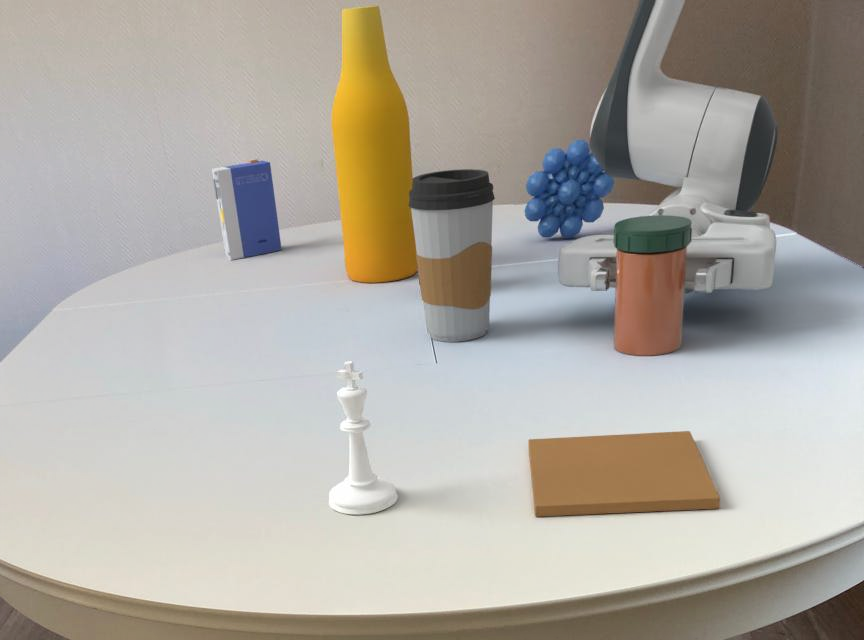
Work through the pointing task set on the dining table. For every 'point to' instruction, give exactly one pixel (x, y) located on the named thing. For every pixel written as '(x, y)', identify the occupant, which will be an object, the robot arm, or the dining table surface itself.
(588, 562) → the dining table surface
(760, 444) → the dining table surface
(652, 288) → the jar
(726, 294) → the dining table surface
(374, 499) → the chess piece
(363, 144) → the beer bottle
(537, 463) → the mat
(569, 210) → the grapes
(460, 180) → the coffee cup
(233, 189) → the walkman
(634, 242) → the lid
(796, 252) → the dining table surface
